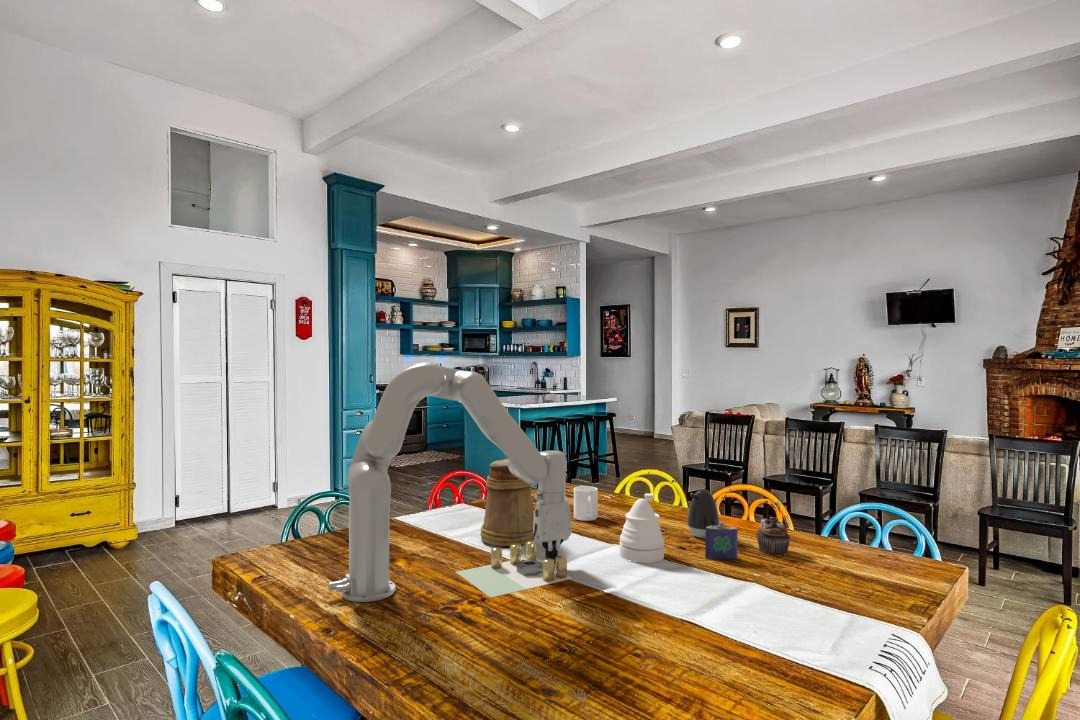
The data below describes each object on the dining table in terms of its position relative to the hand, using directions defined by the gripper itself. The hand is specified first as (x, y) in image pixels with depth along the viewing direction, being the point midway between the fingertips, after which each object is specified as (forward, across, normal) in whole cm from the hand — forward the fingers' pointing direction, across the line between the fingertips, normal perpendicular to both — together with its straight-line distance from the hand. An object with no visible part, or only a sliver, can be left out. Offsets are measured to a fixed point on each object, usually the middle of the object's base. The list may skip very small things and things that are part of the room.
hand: (551, 563), depth 166 cm
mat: (+2, -12, 0) cm, 12 cm away
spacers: (+1, -7, 0) cm, 7 cm away
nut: (+1, -7, 0) cm, 7 cm away
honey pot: (+2, +29, -4) cm, 29 cm away
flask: (+2, +47, -18) cm, 50 cm away
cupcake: (+2, +65, -22) cm, 69 cm away
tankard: (+2, +5, +32) cm, 32 cm away
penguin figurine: (+2, +59, 0) cm, 59 cm away
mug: (+2, +39, +36) cm, 53 cm away
